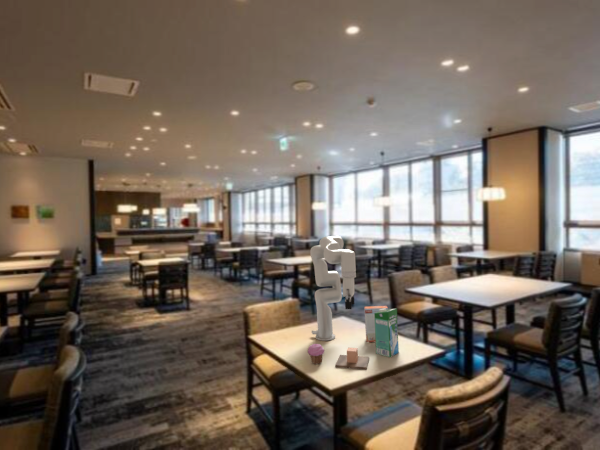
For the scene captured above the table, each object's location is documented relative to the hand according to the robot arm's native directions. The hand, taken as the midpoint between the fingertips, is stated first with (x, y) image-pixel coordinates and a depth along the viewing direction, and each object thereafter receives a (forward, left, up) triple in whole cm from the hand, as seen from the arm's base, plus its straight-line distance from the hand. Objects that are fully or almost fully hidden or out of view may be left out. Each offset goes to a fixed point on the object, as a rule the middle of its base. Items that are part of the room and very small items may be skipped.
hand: (350, 306), depth 189 cm
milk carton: (+17, +17, -30) cm, 38 cm away
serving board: (0, 0, -30) cm, 30 cm away
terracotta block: (0, 0, -29) cm, 29 cm away
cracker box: (+10, +37, -30) cm, 49 cm away
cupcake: (-19, -3, -30) cm, 36 cm away
